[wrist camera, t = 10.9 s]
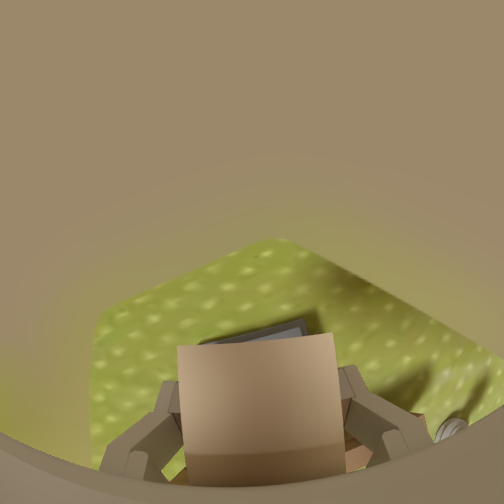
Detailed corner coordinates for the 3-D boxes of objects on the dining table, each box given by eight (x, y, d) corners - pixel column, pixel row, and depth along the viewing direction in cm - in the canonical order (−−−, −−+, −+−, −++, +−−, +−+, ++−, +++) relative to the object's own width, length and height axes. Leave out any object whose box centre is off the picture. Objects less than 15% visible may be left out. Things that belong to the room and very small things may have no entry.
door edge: (394, 409, 22) (423, 414, 17) (398, 426, 21) (428, 433, 16) (182, 469, 21) (162, 488, 15) (187, 485, 20) (170, 507, 14)
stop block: (296, 356, 14) (332, 332, 7) (303, 428, 12) (346, 474, 5) (221, 363, 14) (176, 345, 7) (226, 435, 12) (189, 487, 5)
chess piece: (443, 413, 21) (489, 415, 14) (468, 421, 20) (513, 422, 13) (426, 452, 19) (469, 464, 12) (453, 457, 18) (495, 467, 11)
